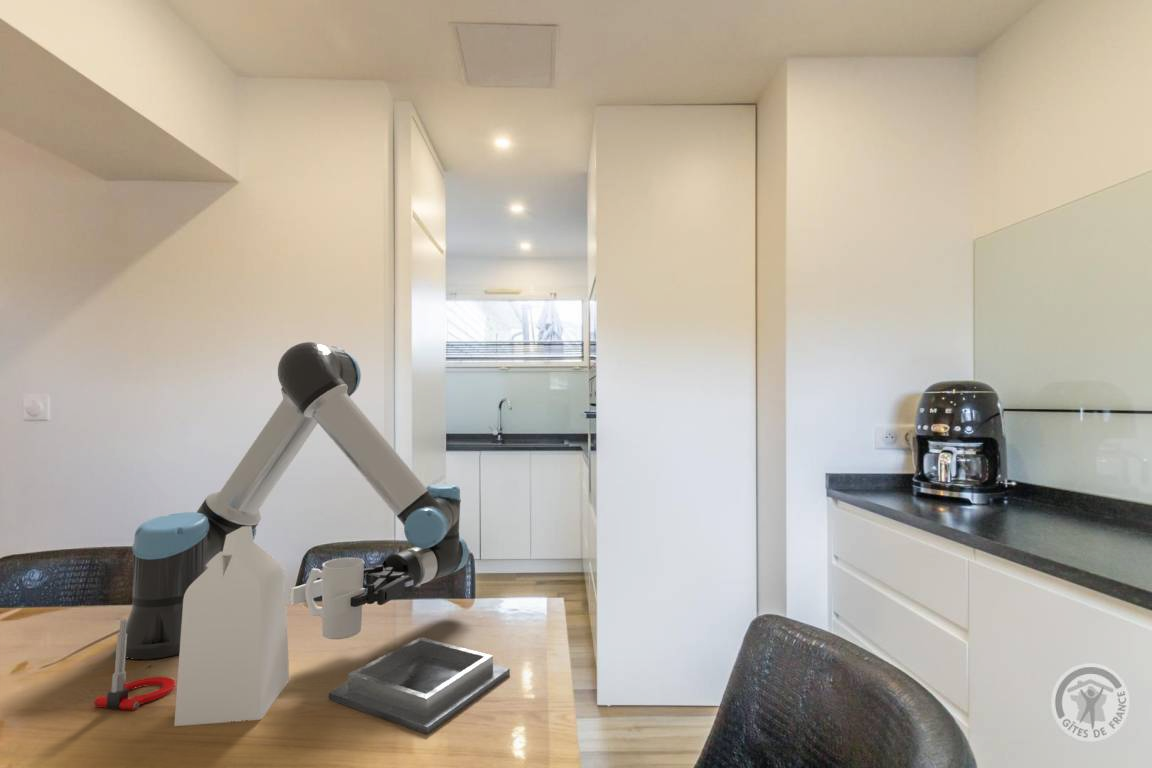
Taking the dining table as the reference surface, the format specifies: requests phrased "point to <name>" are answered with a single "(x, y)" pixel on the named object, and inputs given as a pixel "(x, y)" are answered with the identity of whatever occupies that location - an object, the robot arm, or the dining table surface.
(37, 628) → the dining table surface
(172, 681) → the tow hook
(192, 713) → the milk
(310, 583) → the mug
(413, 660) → the grey shallow square tray
